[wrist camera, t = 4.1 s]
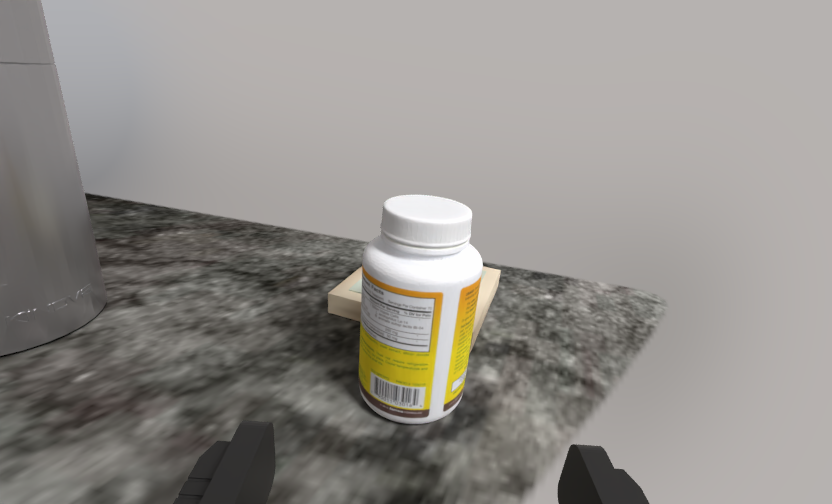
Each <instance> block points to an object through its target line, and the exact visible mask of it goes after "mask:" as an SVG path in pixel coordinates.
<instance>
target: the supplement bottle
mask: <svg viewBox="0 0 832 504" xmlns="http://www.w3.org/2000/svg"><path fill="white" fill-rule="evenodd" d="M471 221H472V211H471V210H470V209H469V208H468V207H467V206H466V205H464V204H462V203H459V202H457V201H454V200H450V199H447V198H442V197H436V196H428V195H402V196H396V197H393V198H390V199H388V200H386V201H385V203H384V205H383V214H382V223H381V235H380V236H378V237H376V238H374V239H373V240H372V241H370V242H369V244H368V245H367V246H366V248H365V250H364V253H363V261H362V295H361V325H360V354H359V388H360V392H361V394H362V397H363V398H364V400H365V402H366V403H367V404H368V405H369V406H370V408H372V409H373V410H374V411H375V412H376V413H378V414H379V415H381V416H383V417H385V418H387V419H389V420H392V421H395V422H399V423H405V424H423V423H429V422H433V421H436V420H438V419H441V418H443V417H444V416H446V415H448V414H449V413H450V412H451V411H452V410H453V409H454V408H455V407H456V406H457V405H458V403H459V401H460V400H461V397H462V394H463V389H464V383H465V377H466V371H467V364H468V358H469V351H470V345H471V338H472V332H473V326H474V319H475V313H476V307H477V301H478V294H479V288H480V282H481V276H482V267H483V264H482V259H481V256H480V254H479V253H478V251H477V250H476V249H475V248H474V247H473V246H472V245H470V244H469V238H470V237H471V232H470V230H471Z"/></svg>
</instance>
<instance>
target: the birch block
mask: <svg viewBox="0 0 832 504" xmlns="http://www.w3.org/2000/svg"><path fill="white" fill-rule="evenodd" d="M500 272H501V270H497V269H492V268H488V267H482V276H481V282H480V288H479V294H478V301H477V307H476V313H475V319H474V326H473V332H472V338H471V345H470V351H469V353H470V352H471V350H472V347H473V345H474V342H475V340H476V338H477V335H478V333H479V330H480V328H481V326H482V323H483V321H484V319H485V316H486V314H487V311H488V309H489V307H490V304H491V302H492V299H493V297H494V295H495V292H496V290H497V287H498V283H499V277H500ZM361 295H362V267H360V268H359V269H358V270H357V271H355V272H354V273H353V274H352V275H350V276H349V277H348V278H347V279H345V280H344V281H343V282H342V283H340V284H339V285H338V286H337V287H335V288H334V289H333V290H332V291H330V292H329V293H328V313H331V314H335V315H338V316H342V317H345V318H349V319H352V320H356V321H359V322H361Z"/></svg>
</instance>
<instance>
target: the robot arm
mask: <svg viewBox="0 0 832 504" xmlns="http://www.w3.org/2000/svg"><path fill="white" fill-rule="evenodd" d="M54 63H55V62H54V57H53V53H52V48H51V44H50V39H49V35H48V30H47V26H46V21H45V17H44V12H43V8H42V3H41V0H0V356H2V355H6V354H10V353H14V352H19V351H23V350H26V349H29V348H32V347H35V346H38V345H41V344H44V343H47V342H50V341H52V340H54V339H57V338H59V337H62V336H64V335H66V334H68V333H70V332H72V331H74V330H76V329H78V328H79V327H81V326H83V325H85V324H86V323H87V322H89V321H90V320H92V319H93V318H94V317H96V316H97V315H98V314H99V313H100V311H101V310H102V309H103V308H104V306H105V304H106V302H107V294H106V289H105V285H104V280H103V276H102V271H101V267H100V262H99V258H98V253H97V249H96V244H95V238H94V234H93V229H92V225H91V220H90V216H89V212H88V207H87V203H86V198H85V194H84V190H83V185H82V181H81V176H80V171H79V167H78V163H77V158H76V154H75V149H74V145H73V141H72V136H71V131H70V127H69V122H68V118H67V113H66V109H65V105H64V100H63V96H62V91H61V87H60V83H59V78H58V74H57V69H56V65H55V64H54ZM274 474H275V446H274V429H273V424H272V422H258V421H242V422H241V423H240V425H239V427H238V429H237V430H236V432H235V434H234V436H233V438H232V440H231V442H227V441H217V442H216V443H215V444H214V445H212V446H211V447H210V448H209V449H208V450H207V451H206V452H205V453H204V454H203V455H202V456H201V457H200V458H199V459H198V461H197V463H196V465H195V466H194V468H193V470H192V472H191V473H190V475H189V477H188V481H186V482H185V484H184V486H183V487H182V489H181V491H180V493H179V496H178V498H176V500H175V501H174V503H173V504H266V502H267V499H268V496H269V493H270V490H271V487H272V484H273V479H274ZM558 502H559V504H649V502H648V500H647V498H646V497H645V495H644V493H643V491H642V489H641V488H640V486H638V484H637V483H636V482H635V481H634V480H633V479H632V478H631V477H630V476H629V475H628V474H627V473H626V472H625V471H624V470H623V469H614V467H613V465H612V463H611V461H610V459H609V457H608V455H607V453H606V451H605V450H604V449H603V448H602V447H601V446H589V445H588V446H587V445H575V444H573V445H571V446H570V448H569V451H568V454H567V458H566V460H565V464H564V467H563V470H562V473H561V477H560V480H559V483H558Z"/></svg>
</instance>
